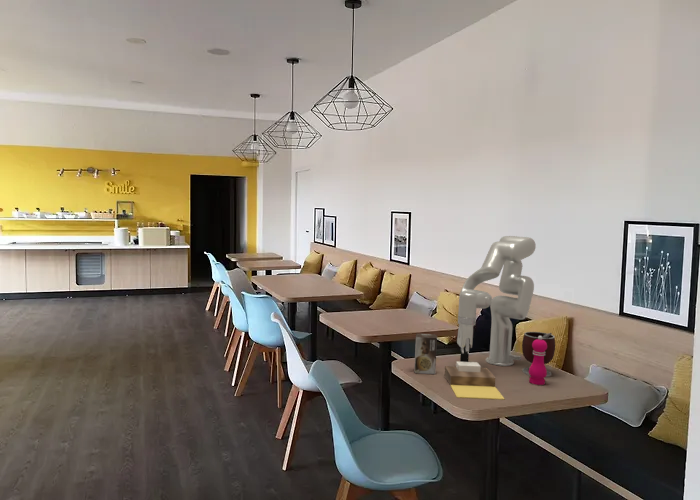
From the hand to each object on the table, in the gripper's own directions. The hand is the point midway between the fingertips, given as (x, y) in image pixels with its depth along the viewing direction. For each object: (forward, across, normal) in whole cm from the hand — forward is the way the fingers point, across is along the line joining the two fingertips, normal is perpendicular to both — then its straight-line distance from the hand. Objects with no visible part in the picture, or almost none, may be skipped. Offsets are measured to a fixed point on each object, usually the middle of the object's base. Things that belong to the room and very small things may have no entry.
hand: (464, 362), depth 240 cm
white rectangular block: (0, +8, 0) cm, 8 cm away
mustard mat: (+5, +25, 0) cm, 25 cm away
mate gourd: (+5, -5, +34) cm, 35 cm away
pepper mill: (+5, +9, +29) cm, 31 cm away
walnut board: (+5, +11, 0) cm, 12 cm away
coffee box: (+5, 0, -17) cm, 18 cm away
